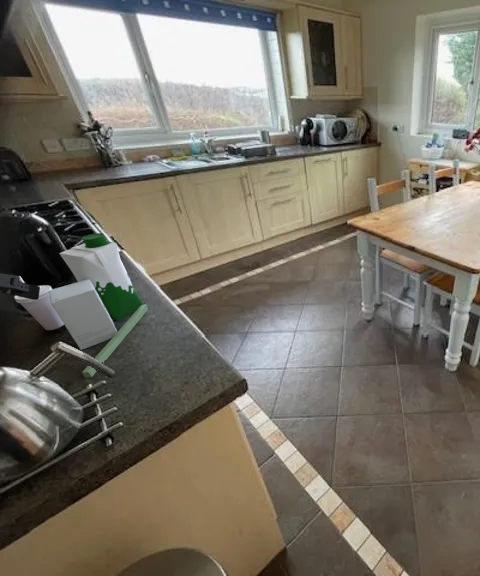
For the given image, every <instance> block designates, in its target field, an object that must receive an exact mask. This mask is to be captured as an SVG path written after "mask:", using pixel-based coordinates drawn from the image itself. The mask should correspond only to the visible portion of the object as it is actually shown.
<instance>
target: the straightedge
mask: <svg viewBox="0 0 480 576" xmlns="http://www.w3.org/2000/svg"><path fill="white" fill-rule="evenodd" d="M148 311H149V307H148V305H147V304H143V305H141V306H140V307H139V308H138V310H136V311H135V312H133V313H132V315H131V316H130V317H129V319H128V320H127V321H126V322H125V323H124V324H123V325H122V326H121V328H120V329H119V330H117V333H116V334H115V336H114V337H113V338H111V339H109V341H108V343H107V344H105V345H104V347H103V348H102V349H101V350H100V351H99V353H97V355H96V356H94V358H95V359H97V360H99V361H100V362H103V364H104V363H105V362H106V361H107V360H108V358H109V357H110V356H111V355H112V354H113V352H115V350H116V349H117V348H118V347H119V345H120V344H121V343H122V342H123V340H124V339H126V337H127V335H129V333H130V332H131V331H132V329H134V327H135V326H136V325H137V323H138V322H139V321H140V320H141V319H142V318H143V316H144V315H145V314H146V313H147V312H148ZM105 360H106V361H105ZM104 361H105V362H104ZM97 372H98V370H97V371H96V370H95V369H94V368H92V367H91V366H88V365H87V366H86V367H85V368H84V369H83V370H82V371H81V373H82V375H83V376H84V378H85V379H87V378H88V379H89V378H93V376H94V375H95V374H96V373H97Z"/></svg>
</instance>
